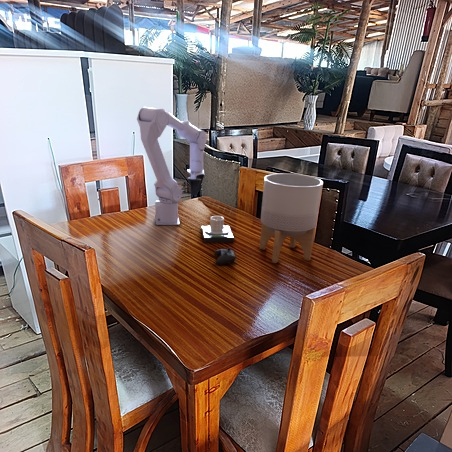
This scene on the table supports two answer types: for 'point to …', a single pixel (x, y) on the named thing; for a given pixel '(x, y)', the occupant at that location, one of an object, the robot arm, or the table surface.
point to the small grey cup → (216, 223)
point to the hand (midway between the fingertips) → (196, 192)
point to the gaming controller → (225, 256)
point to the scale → (217, 235)
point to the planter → (290, 211)
